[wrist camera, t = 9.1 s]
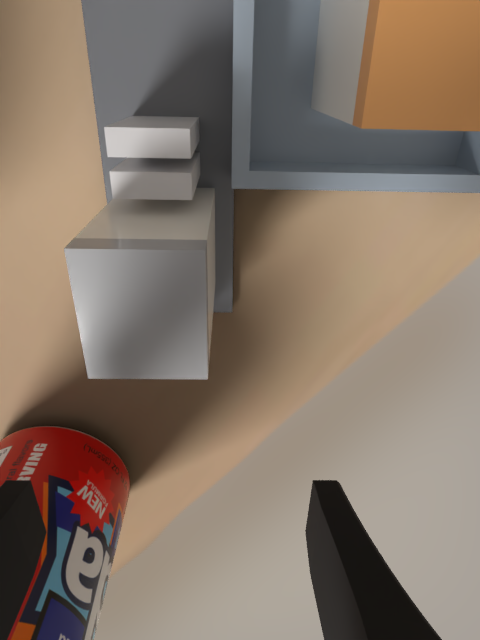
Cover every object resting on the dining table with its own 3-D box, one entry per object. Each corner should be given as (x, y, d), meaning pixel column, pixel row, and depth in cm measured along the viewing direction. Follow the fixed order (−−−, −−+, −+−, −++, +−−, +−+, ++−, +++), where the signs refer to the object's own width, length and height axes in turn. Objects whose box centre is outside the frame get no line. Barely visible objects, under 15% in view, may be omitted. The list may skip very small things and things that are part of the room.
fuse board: (124, 305, 20) (97, 362, 16) (22, -520, 10) (-122, -929, 6) (232, 306, 20) (232, 363, 16) (243, -507, 10) (250, -901, 6)
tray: (231, 174, 17) (231, 188, 15) (234, -148, 13) (235, -195, 11) (459, 178, 18) (492, 193, 15) (540, -138, 13) (603, -180, 11)
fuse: (134, 280, 19) (88, 378, 13) (124, 186, 17) (63, 248, 11) (215, 281, 19) (207, 379, 13) (214, 188, 17) (205, 250, 11)
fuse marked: (310, 108, 16) (360, 128, 10) (323, -33, 14) (397, -120, 8) (407, 110, 16) (517, 132, 10) (433, -29, 14) (592, -112, 8)
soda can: (-7, 402, 23) (-330, 843, 10) (143, 428, 24) (35, 857, 11) (-5, 500, 26) (-237, 916, 13) (125, 519, 28) (28, 921, 14)
